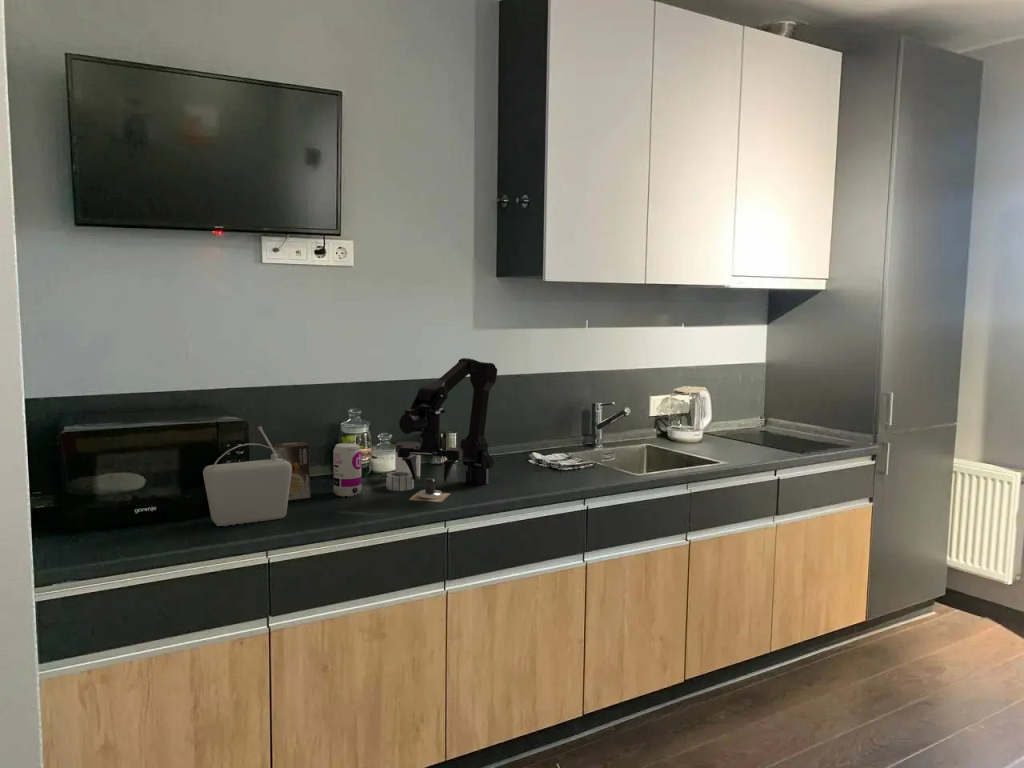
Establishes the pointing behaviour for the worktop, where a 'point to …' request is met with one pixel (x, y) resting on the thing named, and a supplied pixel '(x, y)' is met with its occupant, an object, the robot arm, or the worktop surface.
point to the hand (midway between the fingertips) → (430, 481)
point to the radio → (248, 489)
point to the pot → (399, 481)
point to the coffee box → (296, 467)
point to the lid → (430, 490)
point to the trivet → (444, 495)
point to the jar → (401, 464)
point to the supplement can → (347, 469)
